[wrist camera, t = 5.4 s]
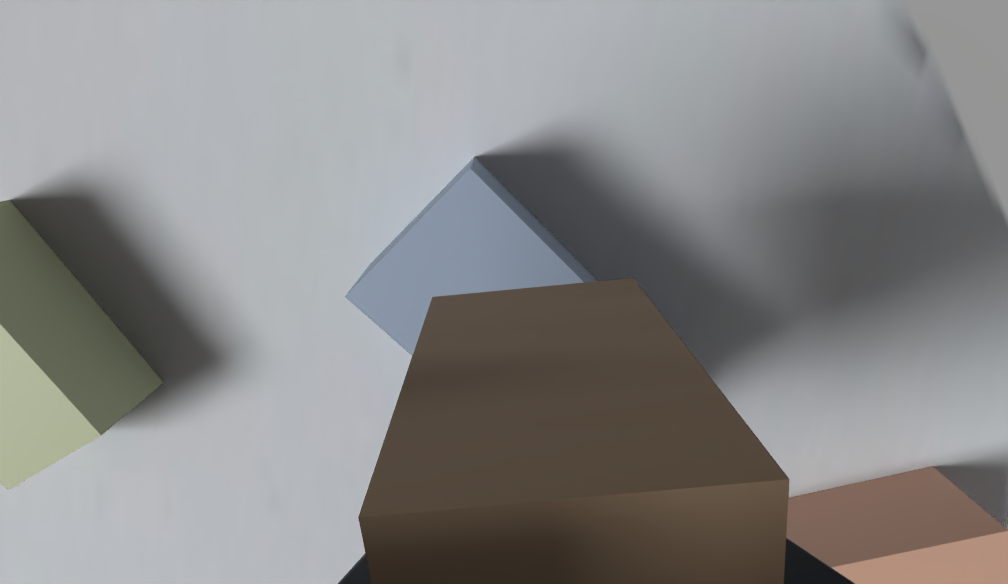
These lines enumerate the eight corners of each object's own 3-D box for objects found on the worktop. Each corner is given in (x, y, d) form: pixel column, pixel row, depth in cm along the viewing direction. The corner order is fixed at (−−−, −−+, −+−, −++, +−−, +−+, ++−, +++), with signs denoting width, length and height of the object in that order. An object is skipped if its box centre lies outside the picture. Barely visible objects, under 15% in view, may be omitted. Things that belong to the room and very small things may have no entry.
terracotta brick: (929, 462, 18) (1008, 530, 15) (932, 541, 19) (1008, 619, 16) (732, 505, 19) (775, 579, 16) (745, 580, 20) (786, 662, 17)
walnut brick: (643, 599, 11) (762, 998, 6) (476, 614, 11) (459, 1020, 6) (633, 277, 9) (789, 479, 4) (432, 296, 9) (358, 517, 4)
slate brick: (674, 357, 17) (710, 409, 14) (572, 444, 18) (586, 509, 15) (474, 155, 15) (470, 167, 13) (371, 262, 16) (345, 296, 13)
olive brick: (166, 379, 17) (101, 435, 14) (87, 427, 18) (7, 490, 15) (14, 198, 16) (-94, 221, 13) (-69, 255, 16) (-192, 289, 13)
